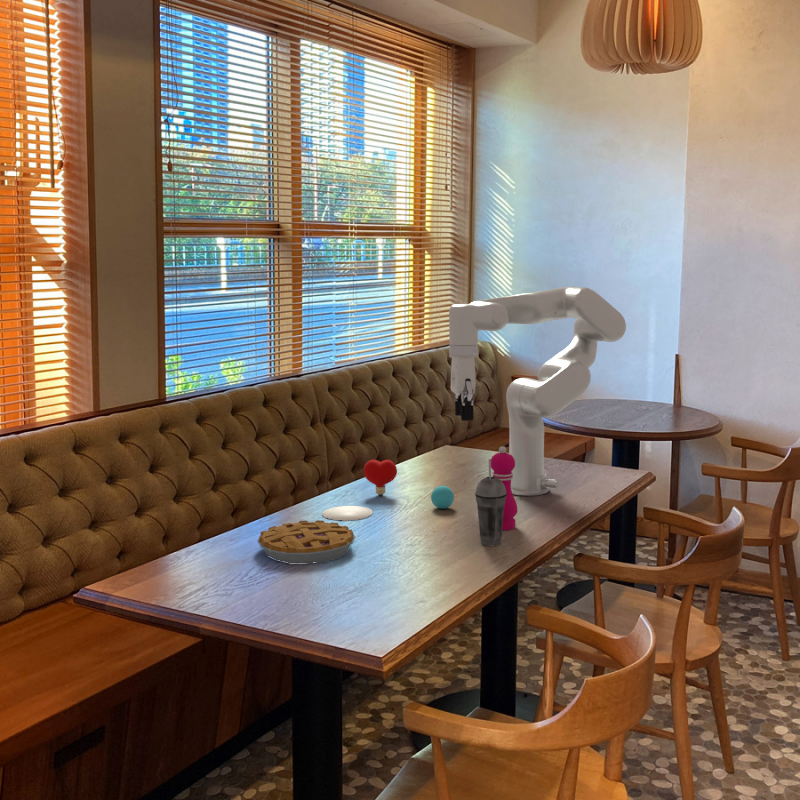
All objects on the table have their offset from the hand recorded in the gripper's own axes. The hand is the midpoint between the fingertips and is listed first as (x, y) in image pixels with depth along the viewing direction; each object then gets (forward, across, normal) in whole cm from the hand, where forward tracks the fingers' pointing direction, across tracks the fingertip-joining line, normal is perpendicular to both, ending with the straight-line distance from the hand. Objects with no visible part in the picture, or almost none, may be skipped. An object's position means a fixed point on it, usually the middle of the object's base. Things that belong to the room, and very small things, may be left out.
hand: (464, 417), depth 247 cm
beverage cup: (+23, +38, -2) cm, 44 cm away
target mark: (+23, +7, -32) cm, 40 cm away
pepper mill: (+23, +26, +4) cm, 35 cm away
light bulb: (+23, -9, -22) cm, 33 cm away
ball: (+20, +7, -7) cm, 22 cm away
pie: (+23, +35, -44) cm, 61 cm away
